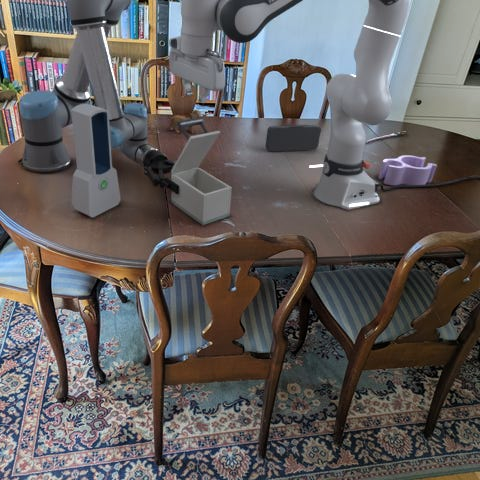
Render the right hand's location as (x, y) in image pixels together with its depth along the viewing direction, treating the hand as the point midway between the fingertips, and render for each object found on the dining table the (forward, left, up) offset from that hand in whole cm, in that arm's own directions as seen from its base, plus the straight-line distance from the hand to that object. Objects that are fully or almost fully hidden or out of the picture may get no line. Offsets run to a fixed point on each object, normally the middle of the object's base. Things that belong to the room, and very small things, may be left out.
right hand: (195, 98), depth 128 cm
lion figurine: (-13, -62, -33) cm, 71 cm away
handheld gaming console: (-52, -37, -33) cm, 71 cm away
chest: (-1, +4, -33) cm, 33 cm away
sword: (-104, -44, -33) cm, 117 cm away
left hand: (0, 0, -26) cm, 26 cm away
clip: (-84, -4, -33) cm, 90 cm away
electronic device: (+28, -2, -33) cm, 43 cm away
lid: (0, +1, -16) cm, 16 cm away
